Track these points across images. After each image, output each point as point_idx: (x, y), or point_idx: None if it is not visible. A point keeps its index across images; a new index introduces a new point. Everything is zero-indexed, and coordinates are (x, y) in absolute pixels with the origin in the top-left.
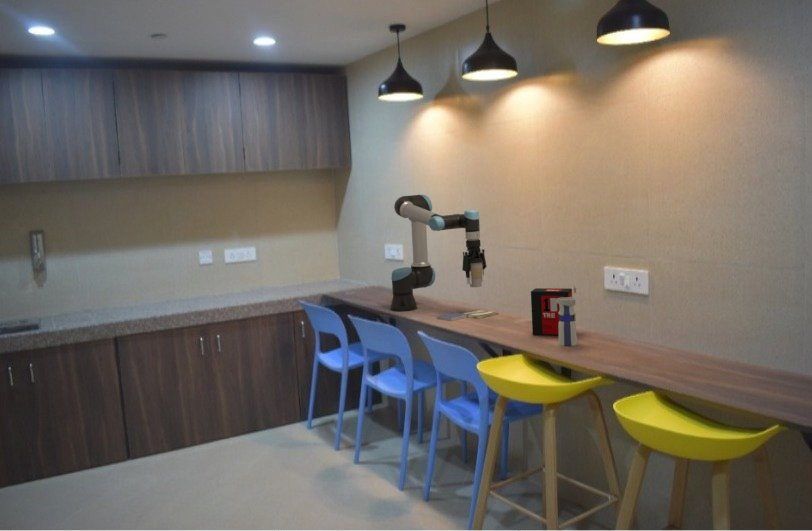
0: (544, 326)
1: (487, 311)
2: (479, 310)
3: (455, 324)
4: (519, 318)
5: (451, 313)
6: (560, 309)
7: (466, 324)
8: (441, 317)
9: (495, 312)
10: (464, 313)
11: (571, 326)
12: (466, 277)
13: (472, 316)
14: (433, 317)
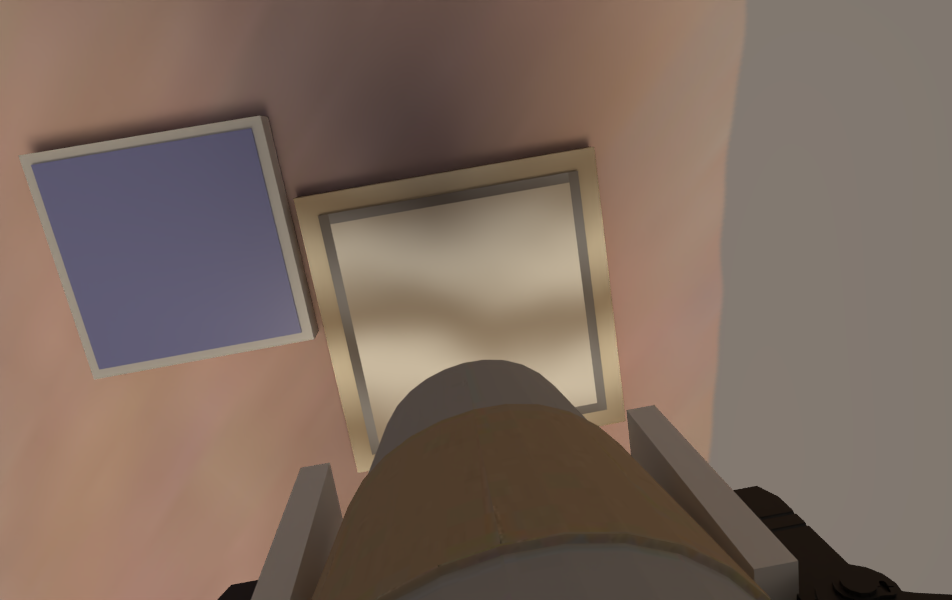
0: None
1: (576, 328)
2: (556, 223)
3: (68, 519)
4: None
5: (209, 181)
6: None
7: (150, 580)
8: (49, 230)
9: (603, 408)
10: (348, 243)
11: None
12: (228, 596)
13: (341, 401)
14: (34, 55)
